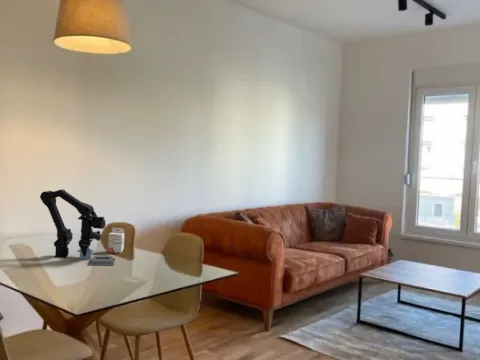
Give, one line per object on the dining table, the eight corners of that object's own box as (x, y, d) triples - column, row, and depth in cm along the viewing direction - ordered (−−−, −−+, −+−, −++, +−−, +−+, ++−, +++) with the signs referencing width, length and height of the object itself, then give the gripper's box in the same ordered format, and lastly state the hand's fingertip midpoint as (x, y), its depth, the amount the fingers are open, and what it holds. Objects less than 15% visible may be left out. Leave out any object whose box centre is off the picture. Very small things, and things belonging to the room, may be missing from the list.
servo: (77, 259, 286) (77, 248, 285) (77, 257, 290) (78, 246, 289) (93, 259, 288) (93, 248, 287) (94, 257, 292) (94, 247, 291)
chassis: (89, 265, 274) (89, 260, 274) (91, 259, 287) (91, 255, 287) (113, 265, 277) (113, 261, 277) (114, 259, 289) (115, 255, 289)
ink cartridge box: (107, 252, 306) (108, 228, 305) (110, 250, 311) (111, 227, 310) (121, 253, 306) (122, 229, 304) (124, 251, 310) (124, 228, 309)
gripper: (99, 230, 280) (98, 258, 281) (102, 224, 298) (101, 250, 299) (78, 230, 278) (77, 258, 279) (82, 224, 296) (82, 250, 297)
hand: (85, 254), depth 289 cm, fingers open, 9 cm apart
